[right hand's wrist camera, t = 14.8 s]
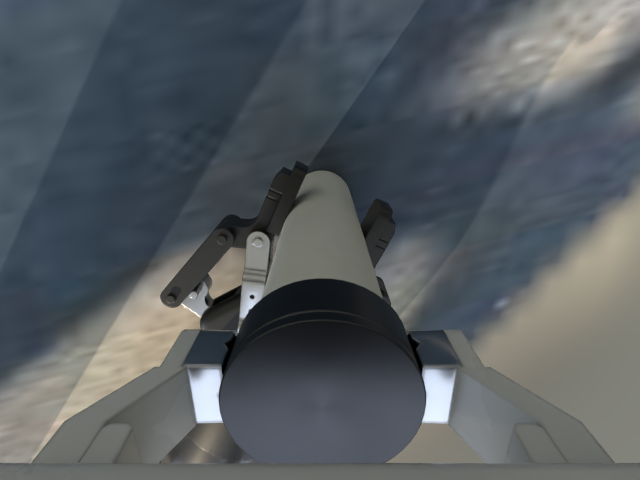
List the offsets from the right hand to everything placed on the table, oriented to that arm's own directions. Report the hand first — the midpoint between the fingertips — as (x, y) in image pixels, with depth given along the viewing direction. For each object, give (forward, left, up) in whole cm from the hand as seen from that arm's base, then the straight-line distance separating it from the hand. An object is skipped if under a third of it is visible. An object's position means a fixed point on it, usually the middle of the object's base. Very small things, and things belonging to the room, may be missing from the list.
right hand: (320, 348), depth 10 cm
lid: (0, 0, +2) cm, 2 cm away
